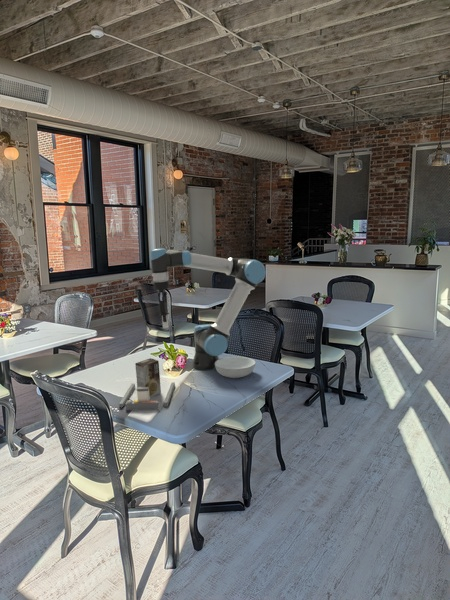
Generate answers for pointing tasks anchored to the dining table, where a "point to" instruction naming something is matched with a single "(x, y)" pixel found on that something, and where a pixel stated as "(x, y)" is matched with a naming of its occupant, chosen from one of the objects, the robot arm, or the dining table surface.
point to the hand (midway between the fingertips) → (165, 327)
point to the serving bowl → (235, 366)
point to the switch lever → (143, 394)
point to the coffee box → (149, 376)
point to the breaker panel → (144, 404)
